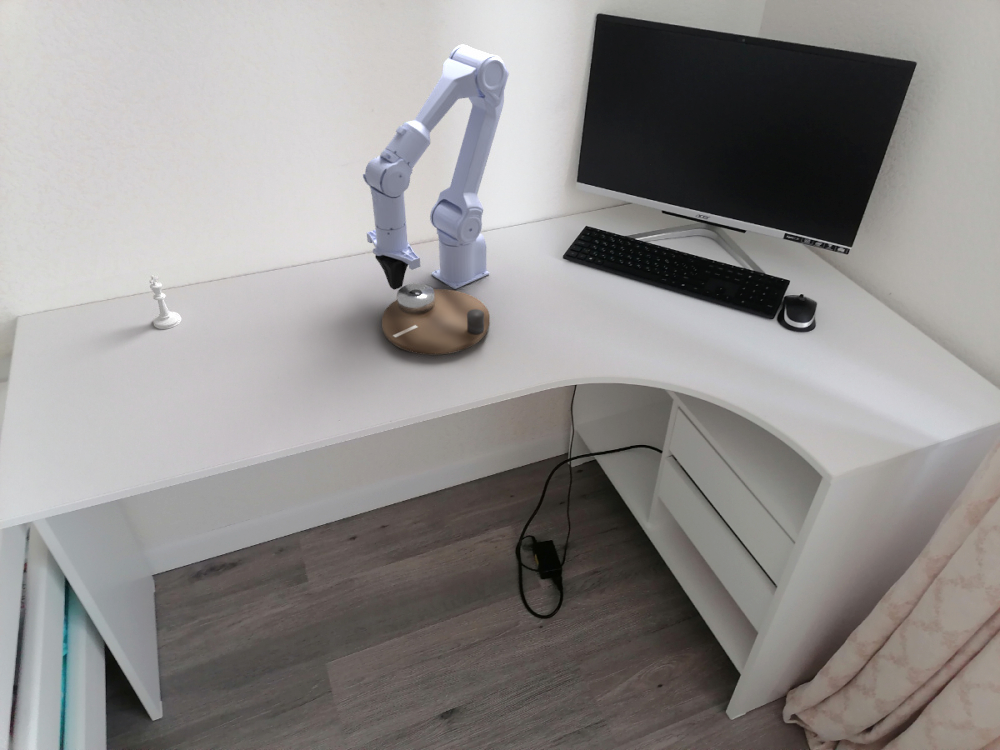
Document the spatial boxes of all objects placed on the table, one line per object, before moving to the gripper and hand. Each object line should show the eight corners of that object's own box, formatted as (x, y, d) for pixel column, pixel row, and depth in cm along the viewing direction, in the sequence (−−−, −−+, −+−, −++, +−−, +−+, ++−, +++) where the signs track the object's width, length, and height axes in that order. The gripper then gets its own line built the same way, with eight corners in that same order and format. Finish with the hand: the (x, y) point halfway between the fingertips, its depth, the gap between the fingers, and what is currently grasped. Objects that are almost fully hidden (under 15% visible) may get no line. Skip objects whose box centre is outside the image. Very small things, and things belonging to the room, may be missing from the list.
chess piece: (147, 325, 137) (131, 279, 131) (166, 312, 140) (151, 266, 134) (168, 331, 135) (153, 285, 129) (187, 317, 139) (173, 272, 133)
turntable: (444, 283, 148) (443, 263, 145) (511, 325, 136) (512, 304, 133) (361, 319, 137) (358, 298, 134) (426, 368, 125) (425, 346, 123)
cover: (420, 290, 143) (419, 279, 142) (442, 305, 139) (441, 293, 138) (390, 303, 139) (389, 291, 138) (412, 318, 135) (411, 307, 134)
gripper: (350, 216, 136) (358, 279, 145) (395, 244, 128) (401, 309, 136) (381, 205, 140) (387, 267, 148) (427, 232, 131) (431, 296, 140)
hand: (396, 286), depth 142 cm, fingers closed
